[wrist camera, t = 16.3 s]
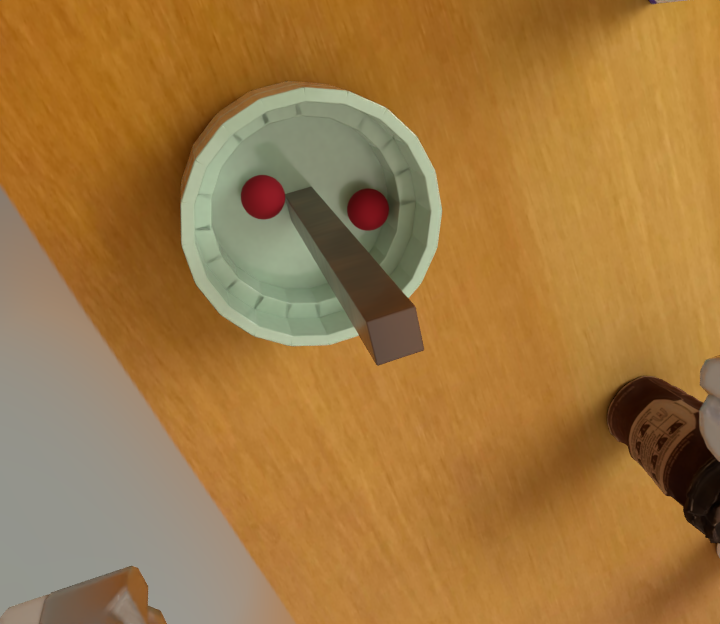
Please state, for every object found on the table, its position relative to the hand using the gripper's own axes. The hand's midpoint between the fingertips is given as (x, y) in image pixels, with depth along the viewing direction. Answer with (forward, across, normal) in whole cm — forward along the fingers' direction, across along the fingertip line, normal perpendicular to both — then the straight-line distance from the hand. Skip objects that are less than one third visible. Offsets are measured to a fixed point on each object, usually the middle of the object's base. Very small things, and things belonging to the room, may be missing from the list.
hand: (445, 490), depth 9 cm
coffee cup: (+33, -26, +30) cm, 51 cm away
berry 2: (+31, -7, +6) cm, 32 cm away
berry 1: (+31, -1, +3) cm, 31 cm away
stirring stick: (+33, -3, +5) cm, 33 cm away
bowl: (+33, -3, +5) cm, 34 cm away
